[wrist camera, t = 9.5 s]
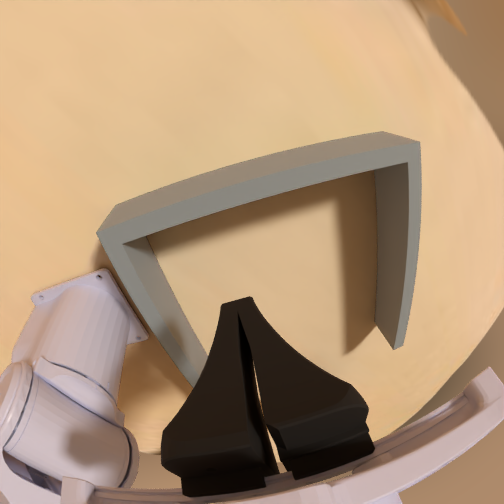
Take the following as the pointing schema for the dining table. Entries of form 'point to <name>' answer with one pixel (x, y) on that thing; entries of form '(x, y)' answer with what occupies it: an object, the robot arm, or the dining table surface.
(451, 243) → the dining table surface
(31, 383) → the robot arm
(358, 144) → the gray rectangular arch
